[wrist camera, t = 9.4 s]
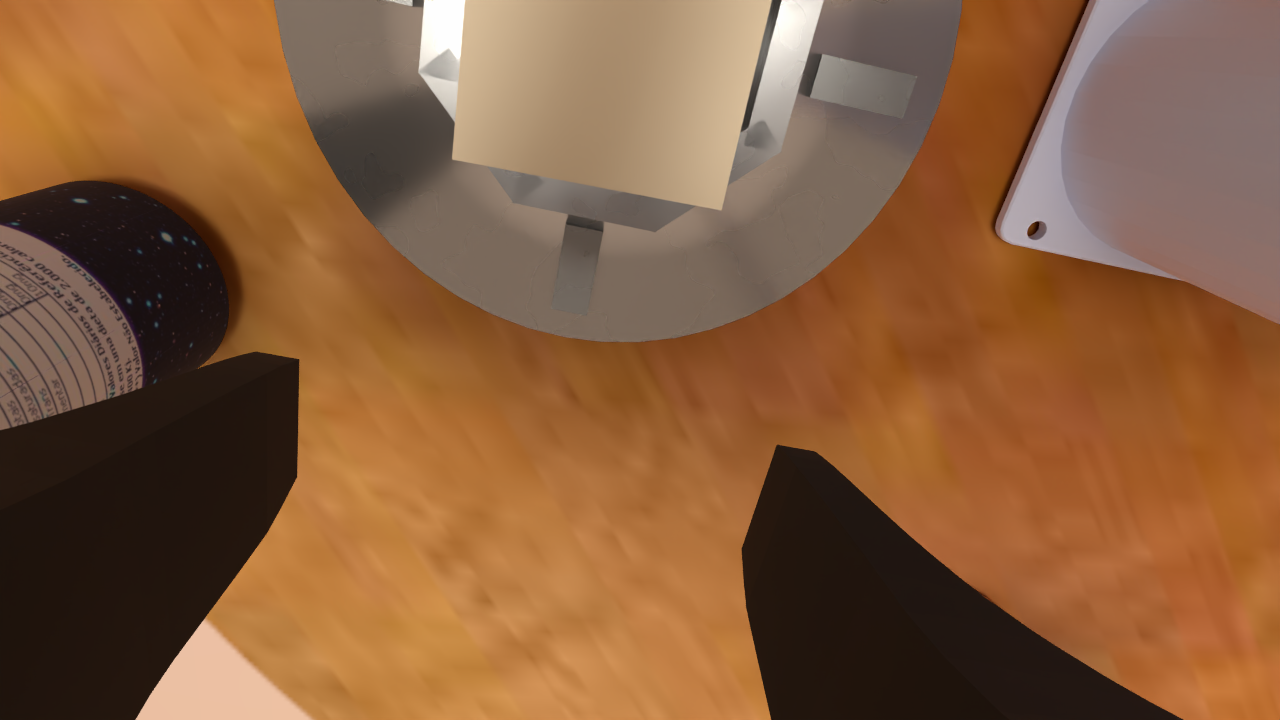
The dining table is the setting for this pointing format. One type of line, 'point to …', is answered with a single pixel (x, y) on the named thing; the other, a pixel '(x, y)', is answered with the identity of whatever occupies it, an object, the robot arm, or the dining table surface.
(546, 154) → the beige wooden block
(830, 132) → the rosette socket
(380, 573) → the dining table surface
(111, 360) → the beverage can
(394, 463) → the dining table surface
